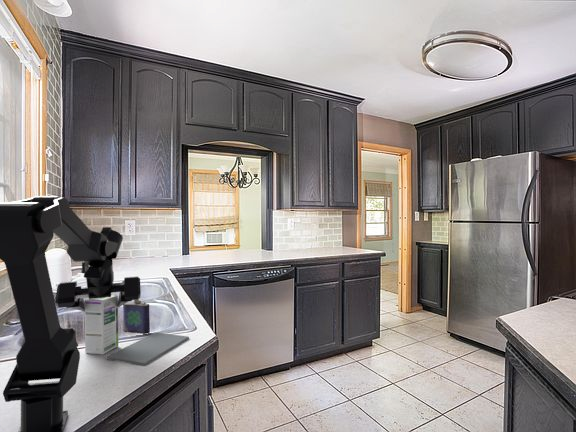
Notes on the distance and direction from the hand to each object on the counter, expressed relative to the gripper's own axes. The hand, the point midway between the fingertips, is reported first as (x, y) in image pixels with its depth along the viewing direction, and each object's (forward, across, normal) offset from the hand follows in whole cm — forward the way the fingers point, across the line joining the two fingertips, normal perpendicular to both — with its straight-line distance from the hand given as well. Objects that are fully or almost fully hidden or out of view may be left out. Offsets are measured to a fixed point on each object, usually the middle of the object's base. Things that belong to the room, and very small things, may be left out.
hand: (102, 307), depth 88 cm
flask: (+15, -9, +1) cm, 17 cm away
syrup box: (+7, 0, +9) cm, 11 cm away
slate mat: (+3, -12, +12) cm, 18 cm away
